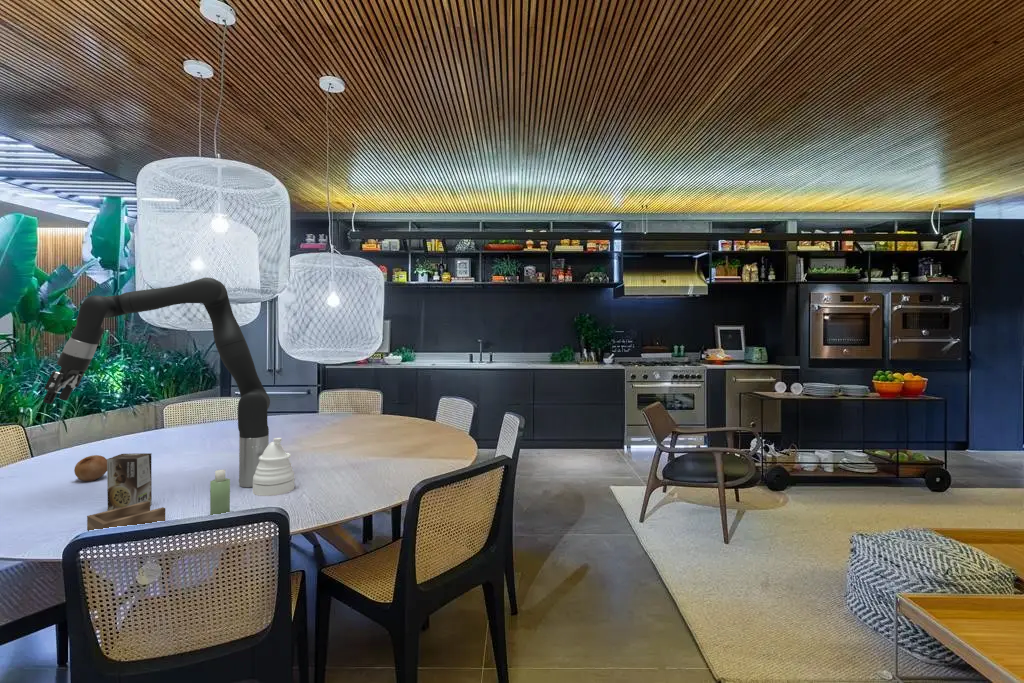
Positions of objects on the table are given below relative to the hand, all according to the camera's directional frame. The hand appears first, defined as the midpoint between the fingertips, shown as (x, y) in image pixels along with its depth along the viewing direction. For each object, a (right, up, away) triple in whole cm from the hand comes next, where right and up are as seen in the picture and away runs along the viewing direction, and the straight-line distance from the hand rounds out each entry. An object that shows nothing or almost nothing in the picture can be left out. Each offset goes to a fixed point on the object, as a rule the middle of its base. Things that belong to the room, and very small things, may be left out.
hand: (55, 401), depth 152 cm
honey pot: (+64, -32, +13) cm, 72 cm away
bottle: (+59, -32, -10) cm, 68 cm away
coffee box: (+29, -32, -6) cm, 44 cm away
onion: (-7, -31, +21) cm, 39 cm away
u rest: (+39, -32, -20) cm, 55 cm away
